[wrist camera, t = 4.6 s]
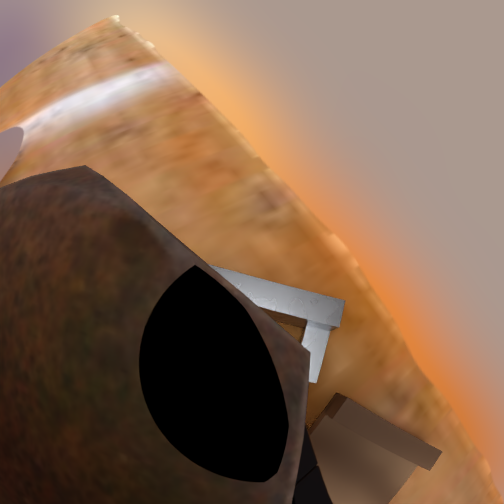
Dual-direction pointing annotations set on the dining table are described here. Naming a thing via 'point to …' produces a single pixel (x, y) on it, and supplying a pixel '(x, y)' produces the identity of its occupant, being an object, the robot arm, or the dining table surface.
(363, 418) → the block
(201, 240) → the dining table surface
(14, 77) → the dining table surface
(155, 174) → the dining table surface
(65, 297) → the bolt
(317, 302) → the socket bracket
